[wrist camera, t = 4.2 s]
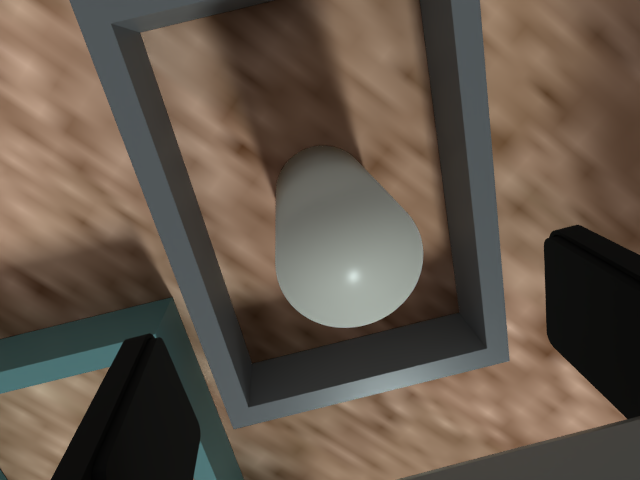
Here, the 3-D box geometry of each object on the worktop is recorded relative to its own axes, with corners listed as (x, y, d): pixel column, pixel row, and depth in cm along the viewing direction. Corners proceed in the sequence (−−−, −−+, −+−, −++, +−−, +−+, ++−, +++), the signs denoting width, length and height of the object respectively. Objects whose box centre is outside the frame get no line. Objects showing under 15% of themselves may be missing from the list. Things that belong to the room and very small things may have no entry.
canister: (358, 135, 24) (411, 173, 15) (375, 224, 26) (432, 308, 16) (264, 158, 24) (257, 211, 15) (288, 245, 26) (295, 342, 16)
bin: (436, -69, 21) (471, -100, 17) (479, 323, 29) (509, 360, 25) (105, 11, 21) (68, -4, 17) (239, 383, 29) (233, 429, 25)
